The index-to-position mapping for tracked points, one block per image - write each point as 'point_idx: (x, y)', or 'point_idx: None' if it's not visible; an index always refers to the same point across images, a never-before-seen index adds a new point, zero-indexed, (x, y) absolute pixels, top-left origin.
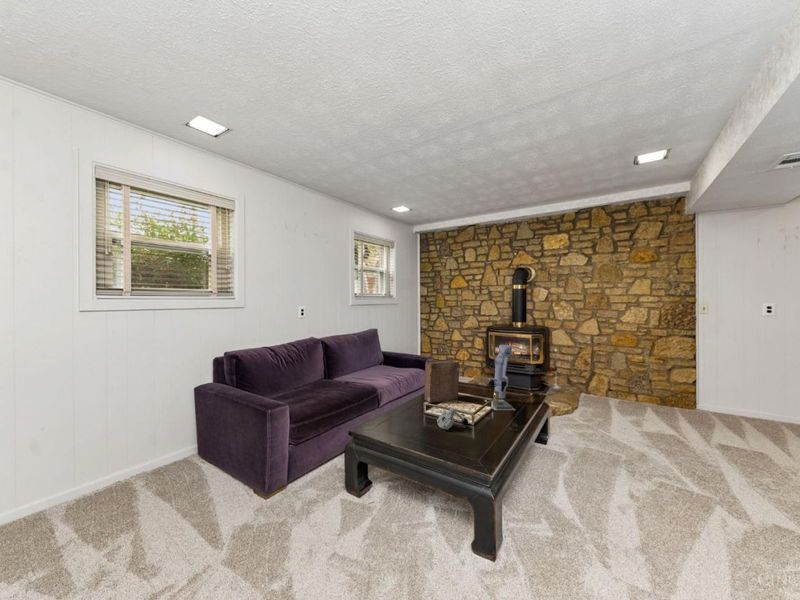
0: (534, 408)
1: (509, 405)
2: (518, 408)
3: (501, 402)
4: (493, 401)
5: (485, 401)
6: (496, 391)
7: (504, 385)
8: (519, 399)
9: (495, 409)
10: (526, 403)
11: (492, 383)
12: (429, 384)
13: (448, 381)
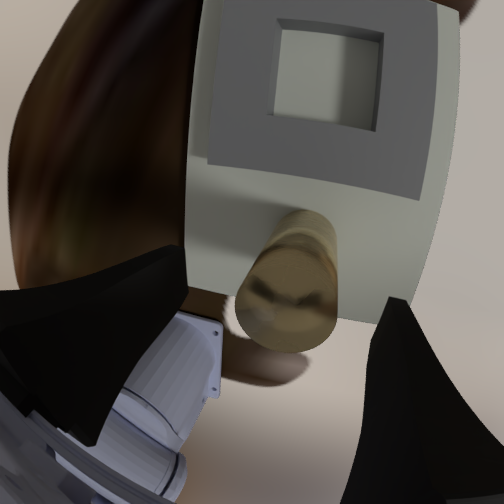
0: (40, 76)
1: (239, 9)
2: (142, 53)
3: (291, 122)
4: (388, 182)
5: (418, 279)
6: (275, 322)
7: (56, 296)
8: (61, 274)
9: (443, 16)
10: (43, 185)
11: (495, 443)
12: None
13: None
